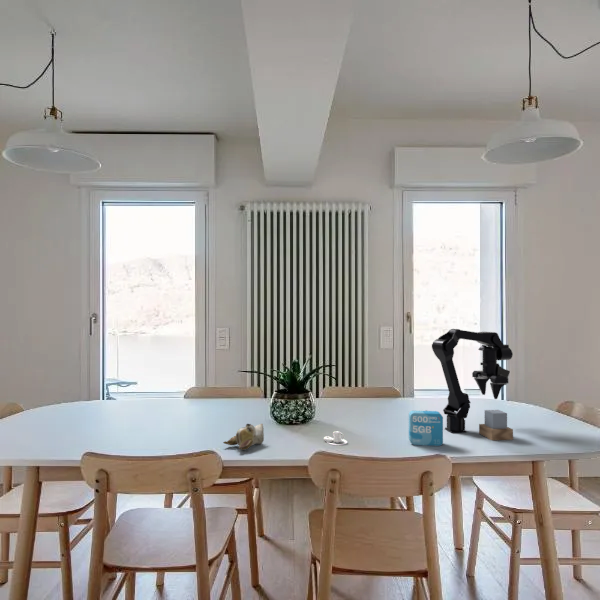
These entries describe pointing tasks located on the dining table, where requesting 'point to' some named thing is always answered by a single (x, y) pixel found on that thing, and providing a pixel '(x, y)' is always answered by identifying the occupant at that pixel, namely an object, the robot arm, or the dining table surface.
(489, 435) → the walnut block
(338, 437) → the teacup and saucer
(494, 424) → the slate cube
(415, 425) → the data package
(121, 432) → the dining table surface
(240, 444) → the ceramic sculpture
